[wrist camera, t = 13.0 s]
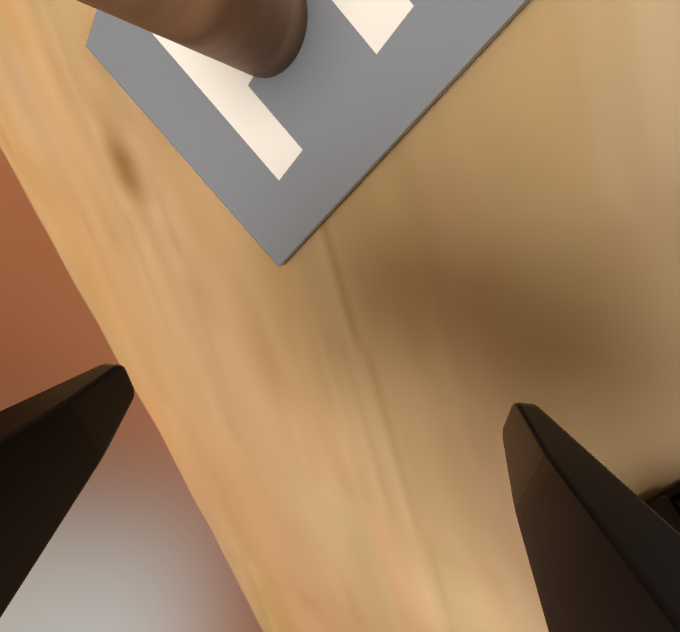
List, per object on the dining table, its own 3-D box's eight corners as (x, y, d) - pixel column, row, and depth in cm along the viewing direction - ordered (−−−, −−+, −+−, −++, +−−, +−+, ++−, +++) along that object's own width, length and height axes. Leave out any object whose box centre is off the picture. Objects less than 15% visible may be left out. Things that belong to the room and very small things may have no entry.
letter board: (547, -19, 12) (551, -28, 12) (283, 263, 20) (278, 266, 20) (246, -403, 11) (234, -432, 11) (96, 49, 19) (85, 46, 19)
